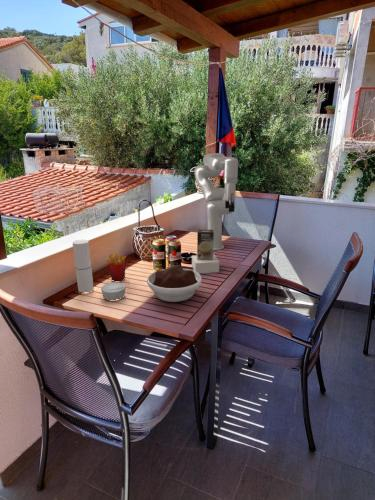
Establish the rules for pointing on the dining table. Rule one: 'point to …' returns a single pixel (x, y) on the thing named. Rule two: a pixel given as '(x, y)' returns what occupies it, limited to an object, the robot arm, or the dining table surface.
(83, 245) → the cylindrical container
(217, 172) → the robot arm
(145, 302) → the dining table surface
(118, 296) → the ramekin
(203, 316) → the dining table surface
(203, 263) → the cream block
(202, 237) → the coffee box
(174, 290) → the white bowl of soil
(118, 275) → the french fries
